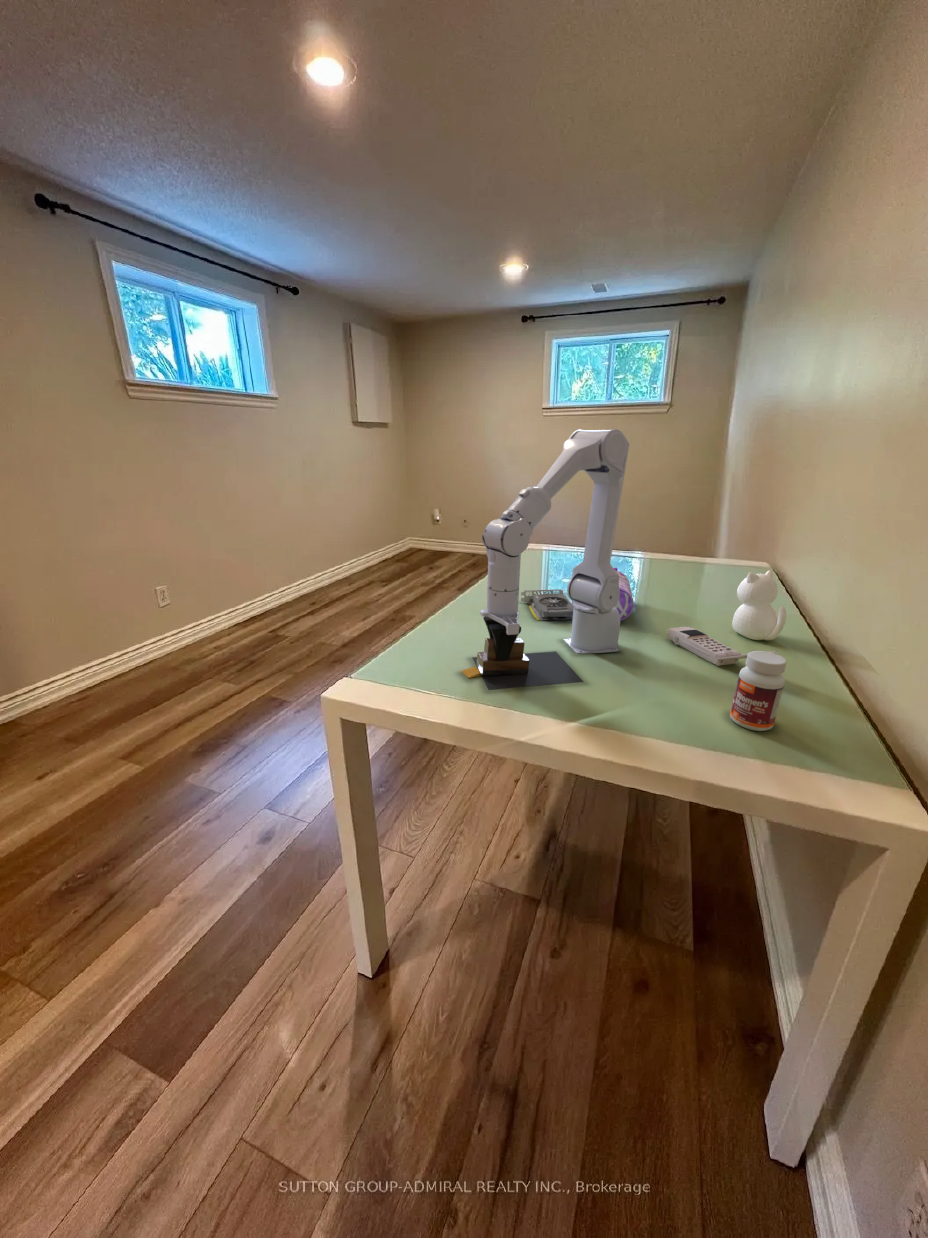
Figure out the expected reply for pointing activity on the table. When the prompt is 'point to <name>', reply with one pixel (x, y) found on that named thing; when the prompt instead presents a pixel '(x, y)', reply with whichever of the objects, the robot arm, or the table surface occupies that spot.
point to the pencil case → (624, 597)
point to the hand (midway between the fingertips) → (500, 656)
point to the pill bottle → (759, 691)
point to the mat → (535, 673)
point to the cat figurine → (758, 608)
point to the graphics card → (548, 605)
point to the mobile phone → (704, 646)
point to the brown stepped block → (492, 666)
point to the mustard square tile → (471, 672)
